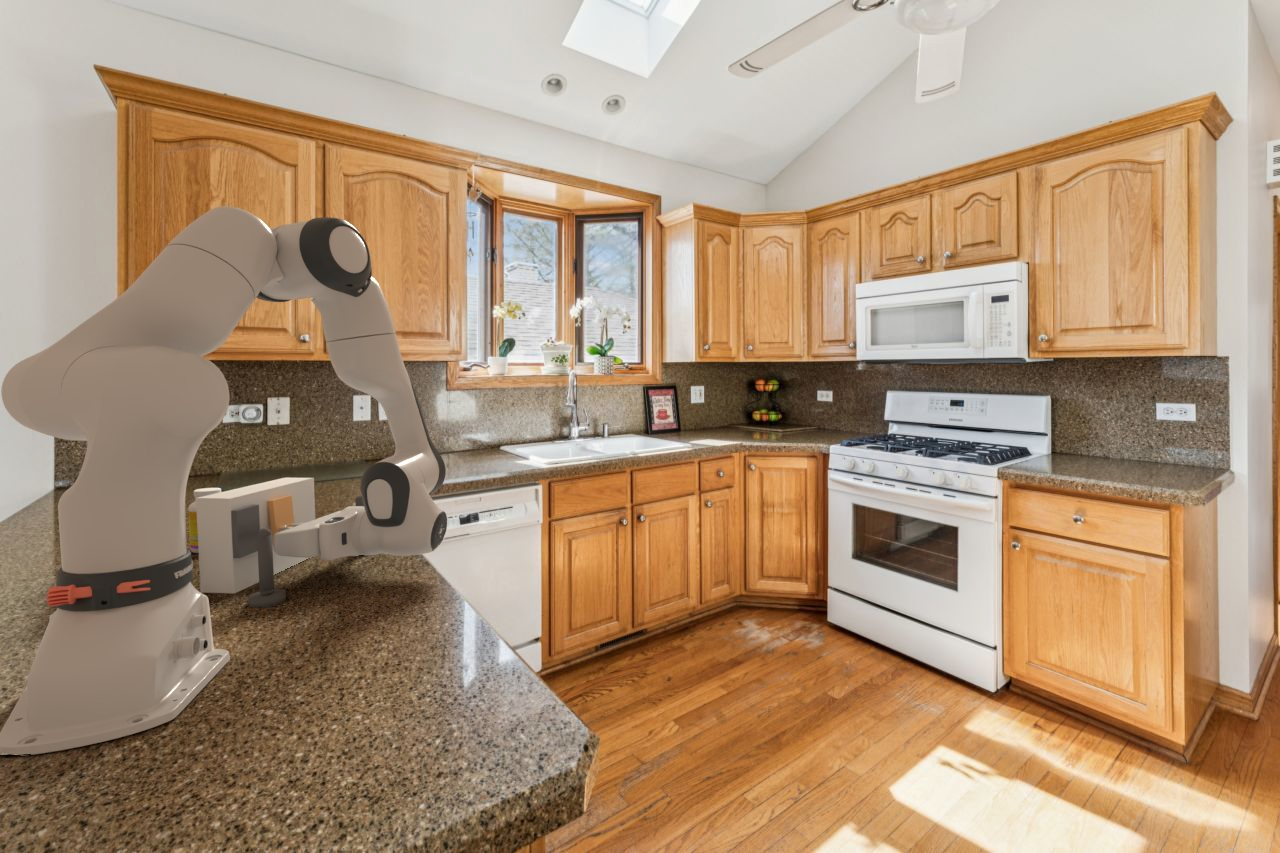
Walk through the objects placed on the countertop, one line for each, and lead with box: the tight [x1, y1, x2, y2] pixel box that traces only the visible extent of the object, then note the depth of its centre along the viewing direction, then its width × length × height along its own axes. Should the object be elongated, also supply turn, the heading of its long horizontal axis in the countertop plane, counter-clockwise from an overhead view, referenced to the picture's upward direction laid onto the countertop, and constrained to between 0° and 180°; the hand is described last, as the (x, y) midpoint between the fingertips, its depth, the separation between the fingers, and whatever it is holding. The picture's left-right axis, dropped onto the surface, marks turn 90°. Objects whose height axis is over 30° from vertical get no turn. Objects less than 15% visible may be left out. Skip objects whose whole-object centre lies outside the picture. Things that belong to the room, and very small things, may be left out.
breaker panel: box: [196, 477, 316, 594], centre depth 108 cm, size 6×22×16 cm, turn 176°
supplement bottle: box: [187, 487, 222, 554], centre depth 123 cm, size 7×7×13 cm
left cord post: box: [247, 528, 287, 609], centre depth 94 cm, size 5×5×12 cm
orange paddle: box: [268, 495, 295, 545], centre depth 108 cm, size 1×5×8 cm, turn 175°
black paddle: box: [231, 505, 260, 558], centre depth 100 cm, size 1×5×8 cm, turn 176°
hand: (285, 530), depth 108 cm, fingers closed, pressing on orange paddle
